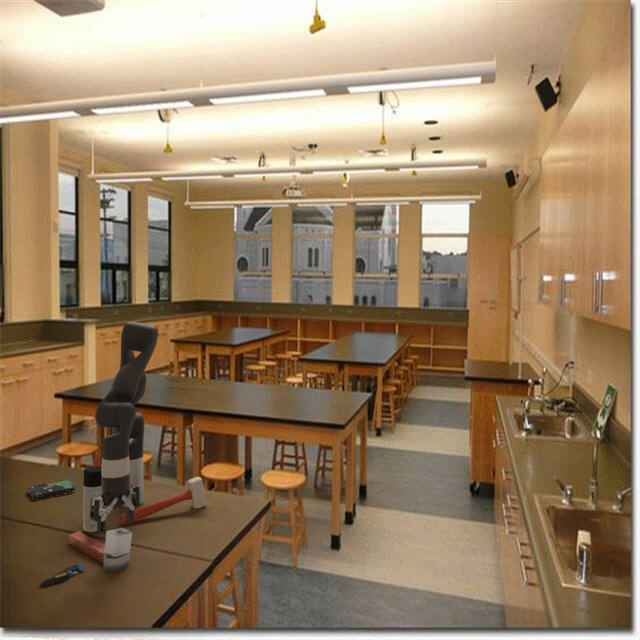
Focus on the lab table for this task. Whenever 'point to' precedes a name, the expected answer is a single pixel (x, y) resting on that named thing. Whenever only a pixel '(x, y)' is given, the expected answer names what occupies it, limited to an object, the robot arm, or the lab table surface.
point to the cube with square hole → (118, 542)
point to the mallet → (173, 501)
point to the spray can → (91, 495)
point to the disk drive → (50, 489)
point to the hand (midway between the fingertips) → (115, 527)
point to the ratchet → (99, 552)
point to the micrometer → (62, 575)
